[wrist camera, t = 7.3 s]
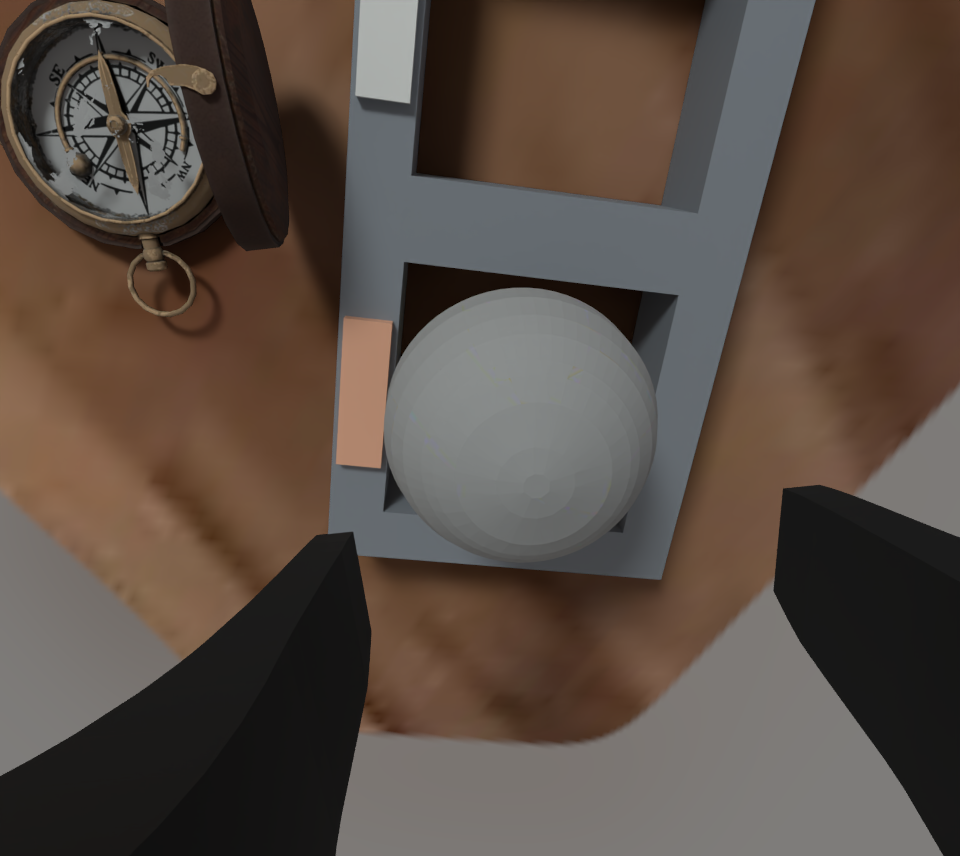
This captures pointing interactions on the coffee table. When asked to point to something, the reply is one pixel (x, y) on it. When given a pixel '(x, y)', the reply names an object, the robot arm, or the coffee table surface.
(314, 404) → the coffee table surface
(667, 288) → the socket block
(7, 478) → the coffee table surface
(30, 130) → the compass
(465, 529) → the light bulb
